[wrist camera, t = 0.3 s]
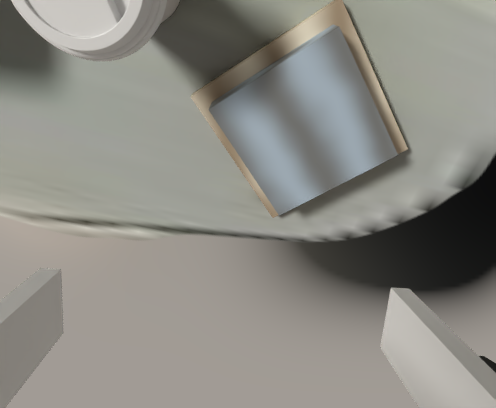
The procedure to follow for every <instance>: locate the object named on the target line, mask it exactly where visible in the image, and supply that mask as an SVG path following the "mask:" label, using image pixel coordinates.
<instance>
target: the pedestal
mask: <svg viewBox="0 0 496 408" xmlns="http://www.w3.org/2000/svg"><path fill="white" fill-rule="evenodd" d="M191 98H192V100H193V101H194V102H195V104H196V105H197V107H198V108H199V110H200V111H201V113H202V114H203V116H204V117H205V119H206V120H207V122H208V123H209V125H210V126H211V128H212V129H213V130H214V132H215V133H216V135H217V136H218V138H219V139H220V141H221V142H222V144H223V145H224V147H225V148H226V150H227V151H228V153H229V154H230V156H231V157H232V158H233V160H234V161H235V163H236V164H237V166H238V167H239V169H240V170H241V172H242V173H243V175H244V176H245V178H246V179H247V181H248V182H249V184H250V185H251V187H252V188H253V189H254V191H255V192H256V194H257V195H258V197H259V198H260V200H261V201H262V203H263V204H264V206H265V207H266V209H267V210H268V212H269V213H270V215H271V216H272V217H273V218H274V217H276V216H278V215H281V214H283V213H285V212H287V211H289V210H291V209H293V208H295V207H297V206H299V205H301V204H303V203H305V202H307V201H309V200H311V199H313V198H315V197H317V196H319V195H321V194H323V193H325V192H327V191H329V190H331V189H332V188H334V187H336V186H338V185H340V184H342V183H344V182H346V181H348V180H350V179H352V178H354V177H356V176H358V175H360V174H362V173H364V172H366V171H368V170H370V169H372V168H374V167H376V166H378V165H380V164H382V163H384V162H385V161H387V160H389V159H391V158H393V157H395V156H397V155H398V154H399V153H401V152H403V151H405V150H407V149H408V148H407V146H406V143H405V141H404V139H403V137H402V134H401V132H400V130H399V127H398V125H397V123H396V121H395V118H394V116H393V114H392V112H391V109H390V107H389V105H388V103H387V100H386V98H385V96H384V94H383V91H382V89H381V87H380V84H379V82H378V80H377V78H376V75H375V73H374V71H373V69H372V66H371V64H370V62H369V60H368V57H367V55H366V53H365V51H364V48H363V46H362V44H361V41H360V39H359V37H358V35H357V32H356V30H355V28H354V26H353V23H352V21H351V19H350V17H349V14H348V12H347V10H346V8H345V5H344V3H343V1H342V0H334V1H333V2H331V3H330V4H328V5H327V6H325V7H324V8H322V9H320V10H319V11H317V12H316V13H314V14H313V15H311V16H310V17H308V18H307V19H305V20H304V21H302V22H301V23H299V24H298V25H296V26H295V27H293V28H292V29H290V30H289V31H287V32H286V33H284V34H282V35H281V36H279V37H278V38H276V39H275V40H273V41H272V42H270V43H269V44H267V45H266V46H264V47H263V48H261V49H260V50H258V51H257V52H255V53H254V54H252V55H251V56H249V57H248V58H246V59H244V60H243V61H241V62H240V63H238V64H237V65H235V66H234V67H232V68H231V69H229V70H228V71H226V72H225V73H223V74H222V75H220V76H219V77H217V78H216V79H214V80H213V81H211V82H210V83H208V84H206V85H205V86H203V87H202V88H200V89H199V90H197V91H196V92H194V93H193V94H192V95H191Z"/></svg>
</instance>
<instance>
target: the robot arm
mask: <svg viewBox="0 0 496 408" xmlns="http://www.w3.org/2000/svg"><path fill="white" fill-rule="evenodd" d="M62 334H63V308H62V279H61V269H47V268H40V269H39V270H38V271H37V272H35V273H34V274H33V275H32V276H30V277H29V278H28V279H27V280H25V281H24V282H23V283H22V284H20V285H19V286H18V287H17V288H15V289H14V290H13V291H12V292H10V293H9V294H8V295H7V296H5V297H4V298H3V299H1V300H0V408H6V406H7V405H8V404H9V402H10V401H11V400H12V399H13V397H14V396H15V395H16V393H17V392H18V391H19V389H20V388H21V387H22V386H23V384H24V383H25V381H26V380H27V379H28V378H29V377H30V375H31V374H32V373H33V371H34V370H35V369H36V367H37V366H38V365H39V364H40V362H41V361H42V360H43V358H44V357H45V356H46V355H47V353H48V352H49V351H50V350H51V348H52V347H53V346H54V344H55V343H56V342H57V340H58V339H59V338H60V337H61V335H62ZM380 348H381V349H382V351H383V352H384V354H385V356H386V357H387V359H388V360H389V362H390V363H391V365H392V367H393V368H394V370H395V371H396V373H397V374H398V376H399V377H400V379H401V381H402V382H403V384H404V385H405V387H406V388H407V390H408V391H409V393H410V394H411V396H412V398H413V399H414V401H415V402H416V404H417V406H418V407H419V408H496V363H494V362H492V361H491V360H489V359H488V358H486V357H484V356H478V355H477V354H476V353H475V352H473V350H472V349H470V347H468V346H467V345H466V344H465V343H464V342H463V341H462V340H461V339H460V338H459V337H458V336H457V335H456V334H455V333H454V332H453V331H452V330H451V329H450V328H449V327H448V326H447V325H446V324H445V323H444V322H443V321H442V320H441V319H440V318H439V317H438V316H437V315H436V314H435V313H434V312H433V311H431V309H430V308H429V307H427V306H426V305H425V304H424V303H423V302H422V301H421V300H420V299H419V298H418V297H417V296H416V295H415V294H414V293H413V292H412V291H411V290H410V289H405V288H391V291H390V297H389V302H388V308H387V313H386V318H385V324H384V330H383V335H382V341H381V347H380Z"/></svg>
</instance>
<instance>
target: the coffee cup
mask: <svg viewBox="0 0 496 408" xmlns="http://www.w3.org/2000/svg"><path fill="white" fill-rule="evenodd" d="M11 1H12V3H13V5H14V6H15V8H16V9H17V11H18V12H19V13H20V15H21V16H22V17H23V18H24V19H25V20H26V22H27V23H28V24H29V25H30V26H31V27H32V28H33V29H34V30H35V31H36V32H37V33H38V34H39V35H40V36H41V37H43V38H44V39H45V40H46V41H48V42H49V43H50V44H52V45H53V46H55V47H57V48H58V49H60V50H62V51H64V52H66V53H68V54H70V55H73V56H76V57H79V58H83V59H87V60H92V61H112V60H117V59H121V58H124V57H127V56H129V55H131V54H133V53H134V52H136V51H138V50H139V49H140V48H142V47H143V46H144V45H145V44H146V43H147V42H148V41H149V40H150V39H151V37H152V36H153V35H154V33H155V32H156V30H157V28H158V27H159V25H160V23H162V22H163V21H165V20H166V19H167V18H169V17H170V16H171V15H172V14H173V12H174V11H175V10H176V8H177V6H178V4H179V1H180V0H11Z"/></svg>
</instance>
